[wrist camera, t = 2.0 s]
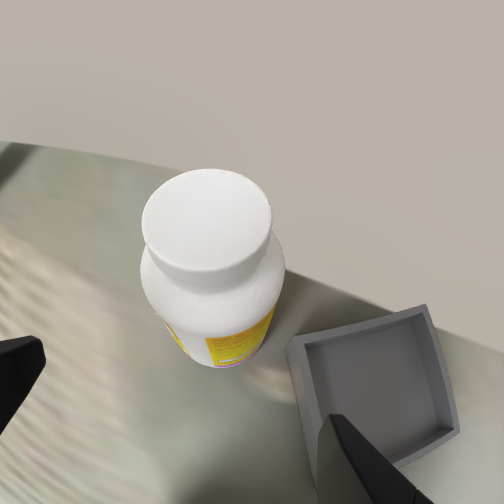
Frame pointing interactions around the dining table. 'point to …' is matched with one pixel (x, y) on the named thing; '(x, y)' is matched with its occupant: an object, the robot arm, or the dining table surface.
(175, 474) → the dining table surface
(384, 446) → the tray
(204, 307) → the supplement bottle
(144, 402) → the dining table surface
